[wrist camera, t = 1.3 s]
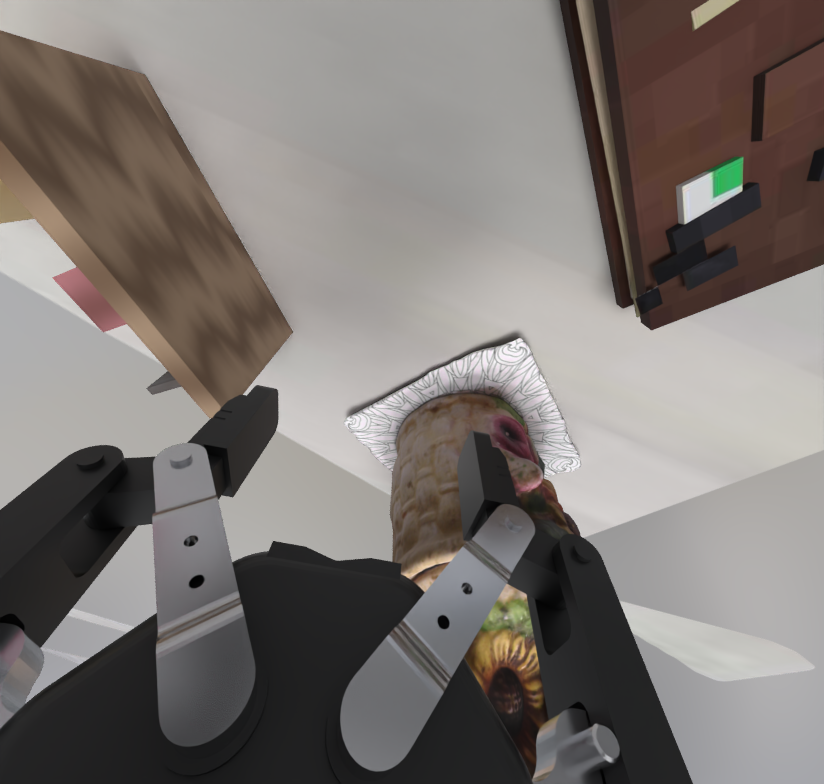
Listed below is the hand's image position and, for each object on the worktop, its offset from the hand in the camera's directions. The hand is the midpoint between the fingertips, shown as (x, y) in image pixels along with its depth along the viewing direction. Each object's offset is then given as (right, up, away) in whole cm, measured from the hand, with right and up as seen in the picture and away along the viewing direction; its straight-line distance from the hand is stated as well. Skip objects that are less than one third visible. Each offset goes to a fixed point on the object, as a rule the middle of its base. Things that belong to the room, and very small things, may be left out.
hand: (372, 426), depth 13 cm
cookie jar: (+9, -5, +31) cm, 33 cm away
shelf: (-22, +15, +18) cm, 32 cm away
